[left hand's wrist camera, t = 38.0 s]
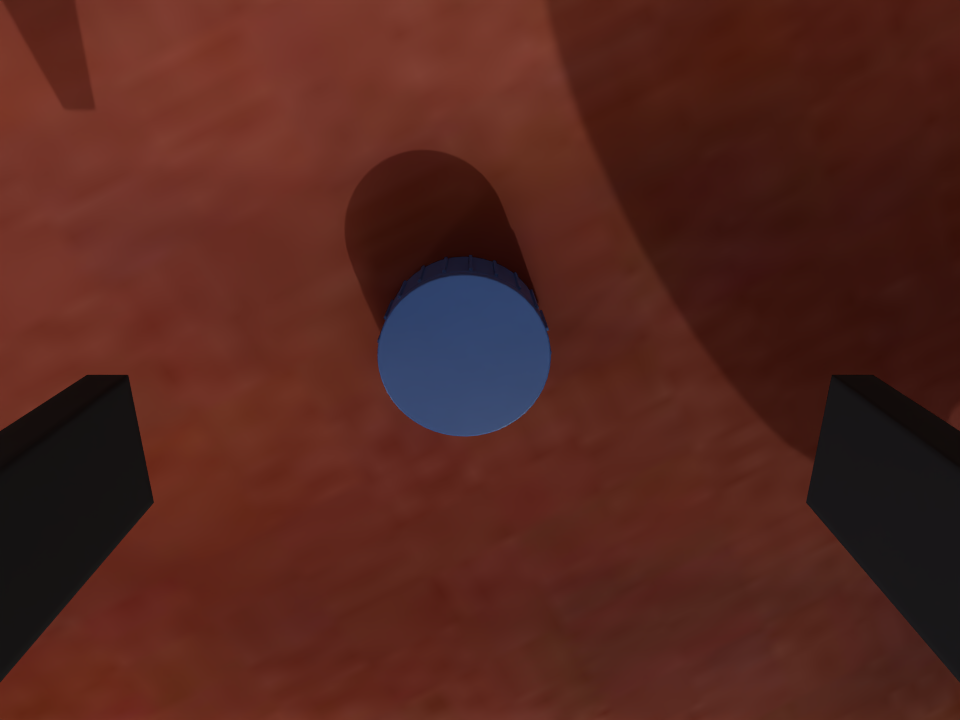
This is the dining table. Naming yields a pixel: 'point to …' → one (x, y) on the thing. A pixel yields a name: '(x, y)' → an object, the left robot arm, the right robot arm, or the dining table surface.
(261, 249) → the dining table surface
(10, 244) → the dining table surface
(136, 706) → the dining table surface
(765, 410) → the dining table surface
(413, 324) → the cap
